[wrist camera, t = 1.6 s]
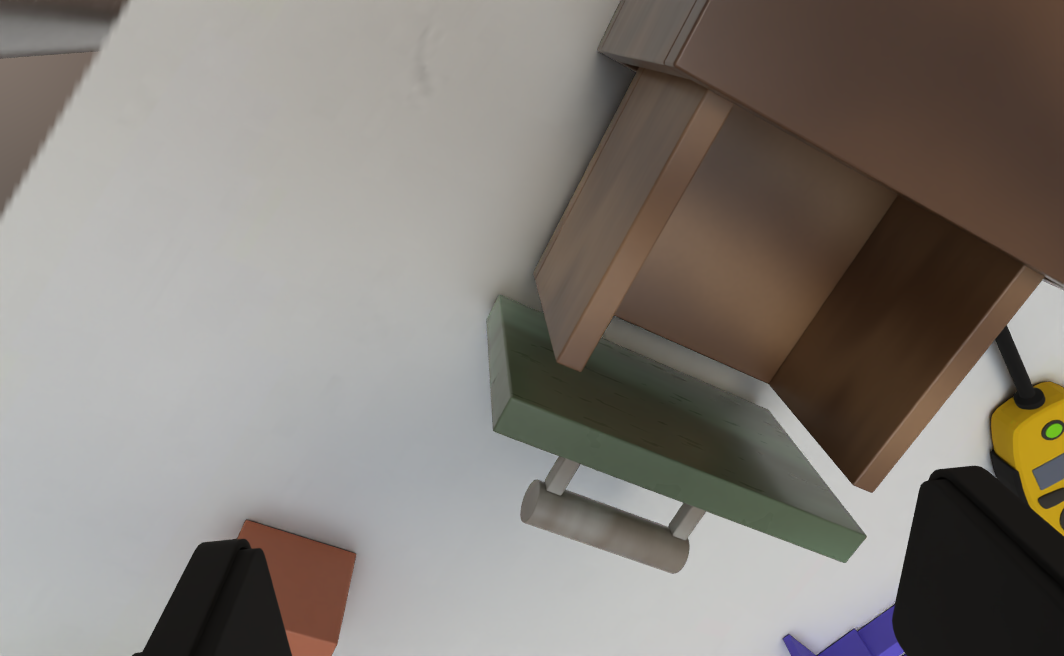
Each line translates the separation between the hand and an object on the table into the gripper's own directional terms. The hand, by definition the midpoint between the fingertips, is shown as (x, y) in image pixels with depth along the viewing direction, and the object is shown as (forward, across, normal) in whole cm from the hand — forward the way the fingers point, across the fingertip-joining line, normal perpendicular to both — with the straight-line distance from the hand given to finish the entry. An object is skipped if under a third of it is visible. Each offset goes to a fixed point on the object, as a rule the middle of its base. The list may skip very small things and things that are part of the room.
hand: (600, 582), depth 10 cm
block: (+17, +12, +15) cm, 26 cm away
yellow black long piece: (+18, -22, +10) cm, 30 cm away
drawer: (+16, -6, +2) cm, 18 cm away
